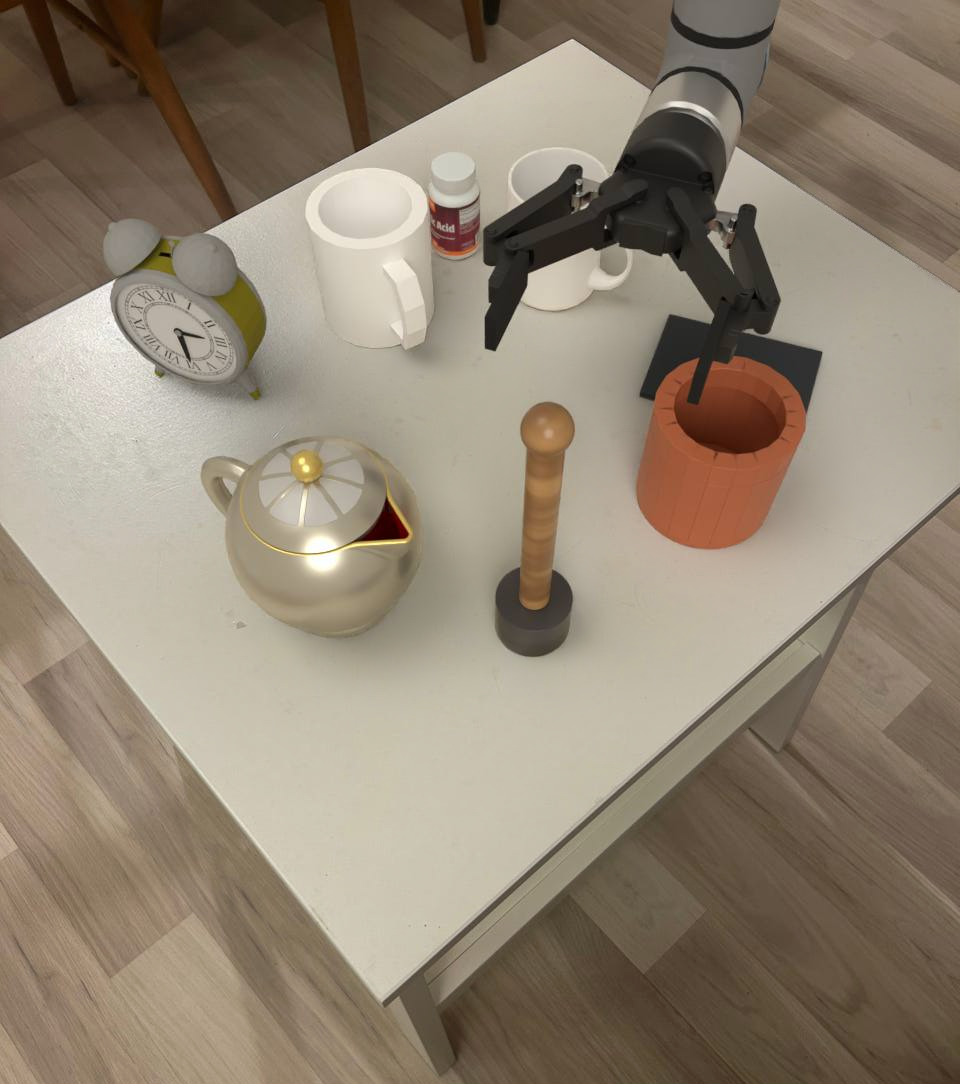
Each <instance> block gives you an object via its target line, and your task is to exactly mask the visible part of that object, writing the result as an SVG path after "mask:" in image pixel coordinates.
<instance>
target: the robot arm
mask: <svg viewBox="0 0 960 1084" xmlns="http://www.w3.org/2000/svg"><path fill="white" fill-rule="evenodd" d="M781 2H782V0H673V3H672V7H671V12H670V15H669V22H668V26H667V27H668V28H667V33H666V39H665V45H664V52H663V58H662V62H661V66H660V71H659V73H658V75H657V78H656V79H655V82H654V84H653V87H652V89H651V91H650V93H649V94H648V97H647V100H646V102H645V103H644V106H643V108H642V109H641V112H640V114H639V116H638V119H637V120H636V121H635V122H636V123H635V124H634V126H633V129H632V130H631V134H630V136H629V138H628V140H627V142H626V144H625V146H624V148H623V151H622V153H621V155H620V157H619V159H618V161H617V164H616V165H615V168H614V170H613V172H612V174H611V175H609V178H607V179H606V180H604V181H603V182H602V183H599V182H596V181H592V180H589V179H586V178H583V177H582V175H583V168H582V167H581V166H580V165H578V164H571V165H568V166H567V167H566V169H565V170H564V172H563V173H562V174H561V176H560V177H559V179H558V180H557V181H556V182H554V183H553V184H551V185H550V186H548V187H547V188H545V189H544V190H542V191H540V192H539V193H537V194H536V195H534V196H533V197H531V198H530V199H528V200H526V201H525V202H523V203H522V204H520V205H519V206H517V207H516V208H514V209H512V210H511V211H509V212H508V213H507V212H506V213H505V214H503V215H502V216H500V217H499V218H497V219H495V220H494V221H492V222H490V223H489V224H487V225H486V226H485V227H484V228H482V229H483V230H482V261H483V264H484V265H485V266H487V267H494V268H493V270H492V272H491V274H490V276H489V278H488V280H487V281H488V283H487V284H488V285H487V286H488V287H487V288H488V290H487V297H488V299H487V300H488V303H489V304H490V305H489V307H488V309H487V311H486V313H485V315H484V349H485V350H488V351H491V352H497V350H498V347H499V345H500V343H501V341H502V339H503V337H504V335H505V333H506V331H507V328H508V327H509V324H510V322H511V321H512V319H513V317H514V314H515V312H516V310H517V309H518V306H519V305H520V302H521V301H520V300H521V298H522V296H523V294H524V292H525V290H526V288H527V286H528V274H529V273H531V272H534V271H536V270H539V269H541V268H544V267H546V266H548V265H551V264H553V263H556V262H558V261H561V260H563V259H566V258H568V257H571V256H573V255H575V254H578V253H580V252H583V251H585V250H588V249H590V248H593V249H594V250H595V251H599V250H601V251H602V250H604V249H606V248H609V247H611V246H614V245H616V244H618V247H619V248H623V249H624V248H627V249H633V250H639V251H642V252H645V253H647V254H649V255H652V256H655V257H656V256H657V257H659V258H662V257H663V255H667V254H668V256H669V257H670V259H671V260H672V262H673V263H674V264H675V266H676V268H677V270H678V271H679V272H681V273H682V272H685V273H686V275H687V277H688V278H689V279H690V281H691V282H692V284H693V285H694V287H695V288H696V289H697V292H698V293H699V294H700V296H701V297H702V298H703V300H704V302H705V303H706V304H707V306H708V308H709V309H710V310H711V312H712V313H713V318H712V321H711V323H710V324H711V326H710V329H709V332H708V335H707V338H706V341H705V343H704V346H703V349H702V352H701V355H700V358H699V361H698V363H697V366H696V369H695V372H694V376H693V380H692V383H691V387H690V391H689V394H688V398H687V403H691V404H695V405H698V404H699V401H700V398H701V395H702V392H703V389H704V386H705V383H706V380H707V377H708V374H709V371H710V368H711V365H712V362H713V361H716V362H720V363H724V364H728V363H729V362H730V361H732V359H733V356H734V353H735V350H736V347H737V344H738V341H739V338H740V335H741V333H742V332H745V331H748V330H753V332H755V333H756V334H757V335H759V336H761V335H763V336H764V335H768V334H769V333H771V331H772V328H773V325H774V323H775V319H776V316H777V314H778V311H779V308H780V305H781V302H782V299H781V295H780V292H779V290H778V287H777V284H776V281H775V279H774V276H773V273H772V272H771V268H770V265H769V262H768V260H767V257H766V255H765V252H764V249H763V246H762V243H761V241H760V239H759V236H758V233H757V230H756V228H755V226H756V219H757V213H758V209H757V207H756V206H755V205H754V204H751V203H743V204H740V206H739V208H738V211H737V212H732V211H725V210H718V208H717V205H716V200H717V197H718V195H719V192H720V190H721V187H722V184H723V182H724V179H725V176H726V173H727V171H728V168H729V166H730V163H731V161H732V157H733V156H734V153H735V150H736V147H737V144H738V142H739V139H740V136H741V133H742V129H743V127H744V123H745V121H746V119H747V116H748V113H749V111H750V109H751V107H752V104H753V102H754V99H755V96H756V94H757V93H758V92H759V90H760V88H761V86H762V84H763V81H764V77H765V74H766V70H767V66H768V61H769V54H770V48H771V47H770V46H771V43H770V42H771V37H772V33H773V30H774V27H775V23H776V19H777V15H778V12H779V8H780V5H781ZM586 203H589V204H588V206H587V207H586V208H584V209H582V210H581V207H582V206H584V205H585V204H586ZM572 212H574V213H572ZM571 213H572V214H571ZM605 225H606V227H607V228H606V229H605ZM712 232H716V233H717V234H718V235H719V237H720V240H721V241H722V242H723V243H722V248H723V249H724V250H728V258H729V263H730V266H731V268H732V269H731V268H730V266H729V265H728V263H727V262H726V260H725V259H724V257H722V255H721V254H720V252H719V251H718V249H717V248H716V247H715V245H714V244H713V243H712V241H711V239H710V237H708V236H709V235H710V234H711V233H712Z"/></svg>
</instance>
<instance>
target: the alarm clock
mask: <svg viewBox="0 0 960 1084" xmlns="http://www.w3.org/2000/svg"><path fill="white" fill-rule="evenodd" d="M107 227H108V228H107V229H108V231H107V232H106V234H105V235H104V239H103V242H102V251H103V258H104V261H105V264H106V266H107V268H108V270H110V271H111V273H112V274H113V275H114V276H117V277H116V279H115V281H114V282H113V284H112V287H111V289H110V295H109V302H110V310H111V312H112V315H113V319H114V321H115V324H116V326H117V327H118V329H119V330H120V332H121V333H122V335H123V337H124V338H125V339H126V340H127V342H128V343H129V344H130V345H131V346H132V347H133V348H134V349H135V350H136V351H137V352H138V353H139V354H140V355H141V356H142V357H143V358H144V359H145V360H147V361H148V362H149V363H151V364H152V365H153V366H154V374H155V376H156V377H159V378H160V377H162V376H164V374H165V373H167V374H169V375H171V376H172V377H175V378H176V379H178V380H181V381H184V382H187V383H189V384H194V385H198V386H204V387H219V386H224V385H229V384H230V383H233V382H235V383H236V384H238V385H239V386H240V387H241V388H242V389H243V390H244V391H245V392H246V393H248V395H249V396H251V397H252V398H253V400H258V399H260V398H261V397H262V393H261V391H260V389H259V387H258V386H257V384H256V383H255V380H254V378H253V376H252V375H251V373H250V370H249V369H248V366H249V364H250V363H251V362H252V359H253V358H254V356H255V354H256V353H257V351H258V349H259V347H260V345H261V343H262V342H263V339H264V337H265V334H266V331H267V324H268V323H267V322H268V321H267V320H268V319H267V312H266V308H265V307H266V306H265V305H264V302H263V300H262V297H261V295H260V293H259V291H258V289H256V286H255V285H254V283H253V282H252V281H251V280H250V278H249V277H248V276H247V274H246V273H245V272H243V270H242V269H241V268H239V265H238V263H237V259H236V256H235V253H234V252H233V250H232V249H231V248H230V246H229V245H228V244H227V243H226V242H225V241H223V240H222V239H220V238H219V237H218V236H215V235H213V234H210V233H205V232H195V233H193V234H190V235H187V236H180V235H162V233H161V231H160V230H159V229H158V228H157V227H156V226H155V225H153V224H152V223H150V222H148V221H146V220H145V219H144V220H143V219H140V218H124V219H120V220H119V221H117V222H116V221H111V222H110V223H109V224H108V226H107Z"/></svg>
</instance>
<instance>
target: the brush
mask: <svg viewBox="0 0 960 1084" xmlns="http://www.w3.org/2000/svg"><path fill="white" fill-rule="evenodd" d="M575 432H576V426H575V420H574V418H573V416H572V414H571V412H570V411H569V410H568V409H567V408H566V407H564V406H563V405H562V404H560V403H558V402H554V401H542V402H538V403H536V404H534V405H532V406H530V407H529V408H528V410H527V411H526V412H525V413H524V415H523V417H522V419H521V422H520V427H519V434H520V439H521V441H522V443H523V445H524V447H525V448H526V449H525V467H524V468H525V469H524V487H523V488H524V489H523V510H522V525H521V545H520V546H521V547H520V548H521V549H520V564H519V567H516V568H514V569H511V571H508V572H507V573H506V574H505V575H503V577H502V578H501V579H500V581H499V583H498V585H497V586H496V590H495V595H494V628H495V633H496V635H497V637H498V640H499V641H500V643H502V645H503V646H504V647H505V648H506V649H508V650H510V652H512V653H514V654H516V655H519V656H523V657H528V658H537V657H543V656H546V655H549V654H551V653H554V651H556V650H557V649H559V647H561V645H563V643H564V642H565V640H566V639H567V637H568V634H569V629H570V623H571V616H572V611H573V603H574V595H573V591H572V587H571V585H570V583H569V582H568V580H567V579H566V578H565V577H564V576H563V575H562V574H561V573H560V572H558V571H557V570H555V569H554V568H553V567H554V561H555V560H554V559H555V550H556V542H557V541H556V539H557V532H558V523H559V514H560V513H559V512H560V503H561V495H562V486H563V476H564V466H565V458H566V451H567V450H568V449H569V447H570V446H571V444H572V443H573V441H574V438H575V435H576V433H575Z"/></svg>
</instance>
